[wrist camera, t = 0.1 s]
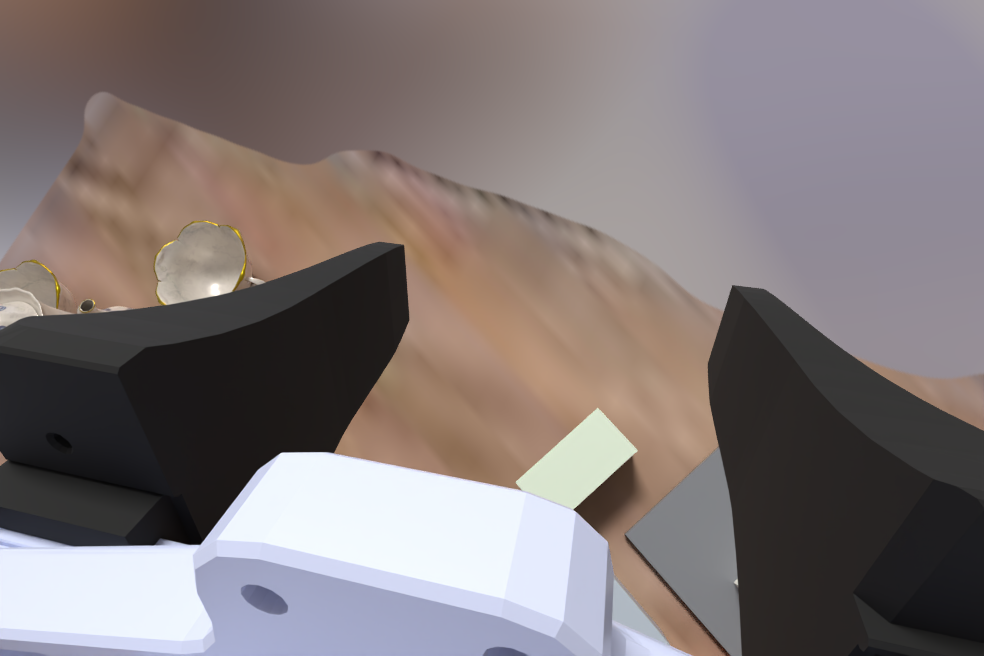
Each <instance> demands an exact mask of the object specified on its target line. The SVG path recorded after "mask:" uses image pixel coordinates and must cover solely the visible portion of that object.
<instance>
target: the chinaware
mask: <svg viewBox="0 0 984 656" xmlns="http://www.w3.org/2000/svg"><path fill="white" fill-rule="evenodd" d="M177 238H178V240H179V241H177V240H174V241H172V242H170V243H168V244H166V245H164V246H163V247H162V248H161V249H160V251H159V252H158V253H157V254H156V255H155V261H154V272H155V274H156V277H157V280H158V281H160V282H158V283H157V288H156V291H155V292H156V296H157V298H158V302H159V303H160V304H161V305H162V306H163V305H169V304H175V303H181V302H186V301H191V300H196V299H201V298H207V297H212V296H217V295H221V294H226V293H230V292H234V291H237V290H241V289H245V288H249V287H252V286H256V285H259V284H263V283H266V282H265V281H263V280H260V279H256V278H252V265H251V262H250V259H249V257H248V255H247V253H246V250H245V245H244V241H243V239H242V236H241V233H240V231H239V230H238V229H236V228H233V227H231V226H229V225H220V226H219V225H218V224H215V223H212V222H209V221H193V222H191V223H190V224H189V225H187V226H185V227H184V228H183V229H182V231H181V232H180V234H179V236H178V237H177ZM16 268H17V269H15V268H12V269H6V270H1V271H0V330H1V329H3V328H5V327H7V326H8V325H10V324H12V323H14V322H16V321H17V320H19V319H22V318H25V317H28V316H45V315H64V314H83V313H100V312H112V311H122V310H131V309H132V308H127V307H122V306H115V307H110V308H107V309H104V310H100V309H97V308H96V307H95V302H94V301H93V300H92V299H86V300H84V301H83V302H82V303H81V304H80V305H79V307H78V309H77V306H76V302H75V299H74V297H73V295H72V294H71V292H70V291H69V289H68V288H67V287H66V286H65V285H63V284H62V283H61V282H59V281H58V279H57V278H56V277H55V275H54V274H53V273H52V272H51V271H50V270H49V269H48V268H47V267H46V266H45V265H43V264H42V263H40V262H39V261H37V260H30V261H24V262H22V263H21V264H20V265H19V266H18V267H16ZM251 283H254V284H252V285H251ZM250 285H251V286H250Z"/></svg>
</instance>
